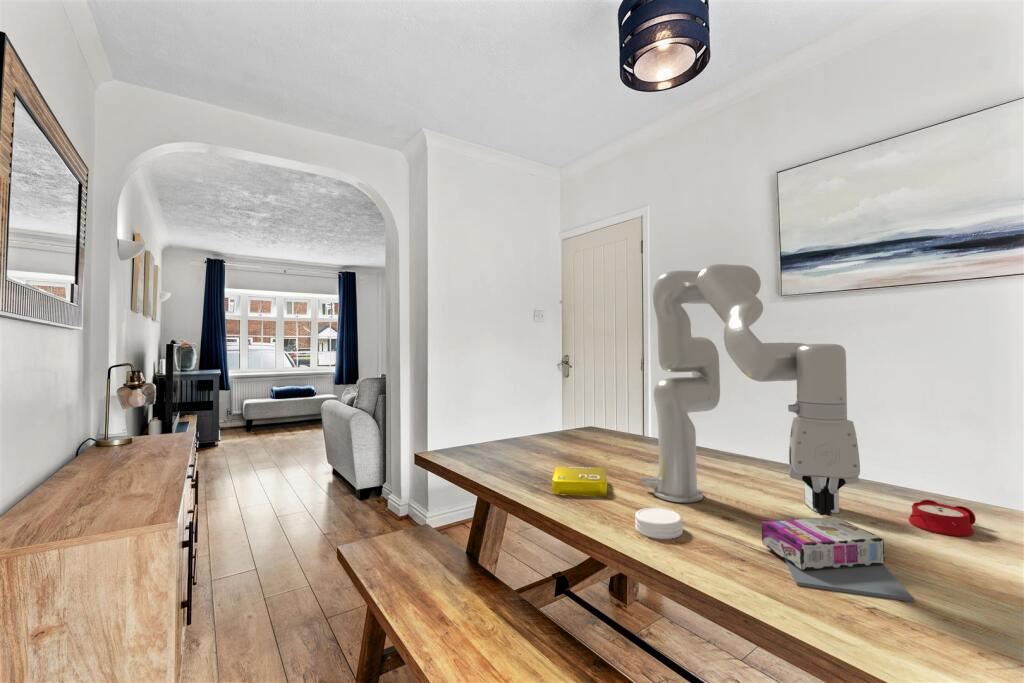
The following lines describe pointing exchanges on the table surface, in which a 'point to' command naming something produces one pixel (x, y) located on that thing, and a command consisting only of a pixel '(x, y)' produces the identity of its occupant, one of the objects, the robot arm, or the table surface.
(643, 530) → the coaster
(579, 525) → the table surface
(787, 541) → the candy bar box
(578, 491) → the element tile
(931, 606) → the table surface
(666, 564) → the table surface
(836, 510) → the syrup box
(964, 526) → the alarm clock
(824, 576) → the slate mat
